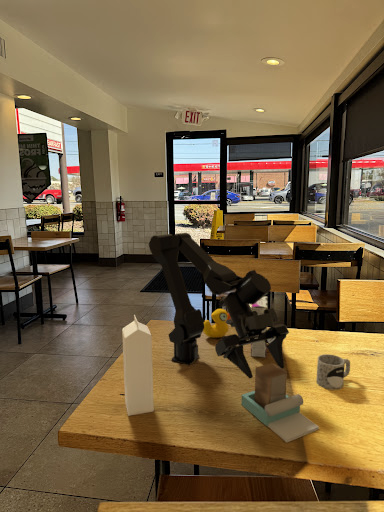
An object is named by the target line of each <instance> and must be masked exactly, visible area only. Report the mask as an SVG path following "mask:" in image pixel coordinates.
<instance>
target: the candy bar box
mask: <svg viewBox="0 0 384 512" xmlns="http://www.w3.org/2000/svg"><path fill="white" fill-rule="evenodd" d="M268 298H269V297H268V296H266V295H265V296H264V297H262V298H261V299H260V300H259V301H258V302H256V303H255V304H252V305H251V309H252V311H256V312H257V313H258V315H261V314H264V310H267V309H269V307H268V306H269V301H268ZM267 330H268V326H267V327H266V329H265V330H263V331H262V333H263V332H266V331H267ZM257 338H258V337H257ZM255 339H256V338H255ZM267 345H268V343H266V342H265V341H259V342H255V343H251V344H250V357H254V358H265V359H266V358H267V353H268V352H267V350H268V349H267V347H266V346H267Z"/></svg>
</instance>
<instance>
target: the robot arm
mask: <svg viewBox="0 0 384 512" xmlns="http://www.w3.org/2000/svg"><path fill="white" fill-rule="evenodd" d="M148 247H149V250H150V252H151V255H152V257H153V258H154V260H155V261H156V262H157V263H159V265H160V266H161V269H162V271H163V275H164V278H165V282H166V284H167V285H166V286H167V288H168V291H169V294H170V298H171V301H172V304H173V307H174V310H175V312H174V317H173V325H174V328H173V329H172V330H171V331H170V332H169V333H168V338H169V339H168V340H169V342H170V343H173V357H171V358H170V359H171V361H172V362H176V363H180V364H183V365H184V364H185V365H188V366H190V365H192V364H193V363H194V362H195V361H197V359H198V358H199V357H200V354H199V344H198V343H197V342H198V341H197V339H200V338H201V337H202V333H204V332H203V329H204V323H203V322H205V319H204V318H203V314H202V311H201V309H200V308H199V309H196V308H195V307H194V306H193V305H192V303H191V300H190V297H189V294H188V290H187V287H186V284H185V281H184V278H183V275H182V271H181V268H180V265H179V262H178V258H179V257H178V256H179V253H182V254H183V255H184V257H185V258H186V259H187V260H188V262H190V263H191V264H192V265H193V266H194V267H195V268H196V269H197V270H198V271H199V272H200V274H201V275H202V277H203V282H204V284H205V285H206V287H207V288H208V289H209V291H210V292H211V293H212V294H213V295H216V296H217V295H219V296H220V295H221V297H220V300H219V303H218V307H219V308H223V307H224V308H226V311H227V313H229V315H230V318H231V319H230V321H231V322H230V324H229V325H230V327H231V328H234V330H235V331H236V333H234V334H229V335H224V336H223V337H220V339H219V340H218V342H216V344H215V346H214V348H215V350H214V351H215V352H216V356H217V357H221V356H222V358H223V359H227V360H228V361H229V362H231V363H232V364H234V365H235V366H236V367H237V368H238V369H239V370H240V372H242V373H243V374H244V375H245V376H246V377H247V378H248V379H252V378H253V377H254V376H253V372H252V370H251V368H250V365H249V362H248V360H247V358H246V356H245V353H244V346H245V345H251V343H255V342H259V341H265V342H266V343H267V346H266V347H267V350H268V352H269V353H270V355H271V357H272V358H273V360H274V362H275V363H276V365H277V366H278V367H280V368H282V369H283V370H284V369H285V363H284V354H283V342H284V340H285V339H286V338H287V336H288V334H289V333H290V331H289V329H288V327H287V325H286V324H283V323H279V324H274V322H277V321H278V319H279V317H278V314H277V312H276V310H275V309H274V308H268V309H267V310H264V314H261V315H258V313H257V312H256V311H252V304H255V303H256V302H258V301H259V300H260V299H261V298H262V297H264V296H265V297H266V295H268V294H269V293H270V292H271V290H272V286H271V283H270V281H269V280H268V279H267V278H266V277H265V276H264V275H262V274H260V273H258V272H257V271H256V269H252V270H249V271H248V272H247V273H246V274H245V275H244V276H243V277H242V276H240V275H238V274H237V273H236V272H235V271H233V270H232V268H231V269H230V268H229V267H228V266H226V265H225V264H221V263H218V262H217V261H215V260H214V259H213V257H211V255H209V253H207V252H206V251H205V249H203V248H202V247H201V246H200V245H199V244H198V243H197V242H196V240H194V239H193V238H192V236H191V234H190V233H187V232H181V233H176V234H175V233H174V234H171V233H165V234H159V235H158V234H156V235H153V236H152V237H150V240H149V242H148ZM179 251H180V252H179ZM234 290H235V291H234ZM226 293H228V294H227V295H226V296H223V295H224V294H226ZM222 294H223V295H222ZM266 327H267V331H266V332H263V333H262V331H263V330H265V329H266ZM268 327H269V328H268ZM257 337H258V338H257ZM255 338H256V339H255Z"/></svg>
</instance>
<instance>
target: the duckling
mask: <svg viewBox="0 0 384 512" xmlns="http://www.w3.org/2000/svg"><path fill="white" fill-rule="evenodd" d="M210 316H211V317H210V318H211V319H212V320H213V322H214V324H213V325H212V324H211V322H210V320H208V319H204V321H205V322H203V323H204V329H203V332H202V333H203V334H204V335H205V336H206V337H209V338H213V339H217V338H222V337H224V336H226V334H227V333H228V331H229V330H230V329H229V324H228V323H227V320H228V321H229V320H231V318H230V315H229V313H228V311H227V309H224V308H217V309H215V310H214V311H213V312H212V313H211V314H210Z"/></svg>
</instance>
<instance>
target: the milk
mask: <svg viewBox="0 0 384 512" xmlns="http://www.w3.org/2000/svg"><path fill="white" fill-rule="evenodd" d="M133 316H134V317H133V319H134V320H133V321H132V322H130V323H128V324H127V325H126V326H124V327H123V328H122V330H121V333H122V353H123V354H122V357H123V358H122V360H123V361H122V362H123V380H124V382H123V383H124V402H125V407H126V412H127V416H128V417H129V416H133V415H134V416H135V415H141V414H147V413H152V412H154V409H155V407H154V406H155V405H154V374H153V342H152V341H153V336H152V334H151V333H152V332H151V331H150V329H149V327H148V325H146V324H144V323H141V322H139V321H138V319H137V317H136V314H133Z"/></svg>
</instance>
